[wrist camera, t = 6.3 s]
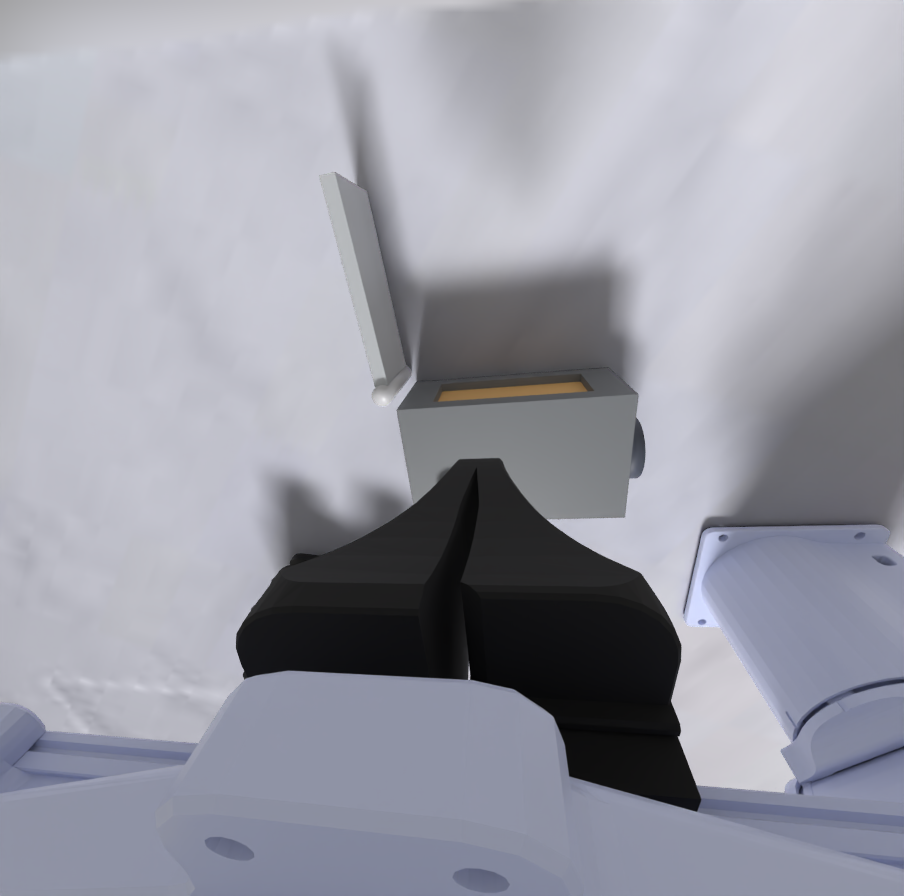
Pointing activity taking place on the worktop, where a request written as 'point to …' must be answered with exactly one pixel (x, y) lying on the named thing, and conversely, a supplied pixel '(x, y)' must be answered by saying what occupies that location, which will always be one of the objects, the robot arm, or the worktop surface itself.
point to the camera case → (531, 436)
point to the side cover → (367, 284)
